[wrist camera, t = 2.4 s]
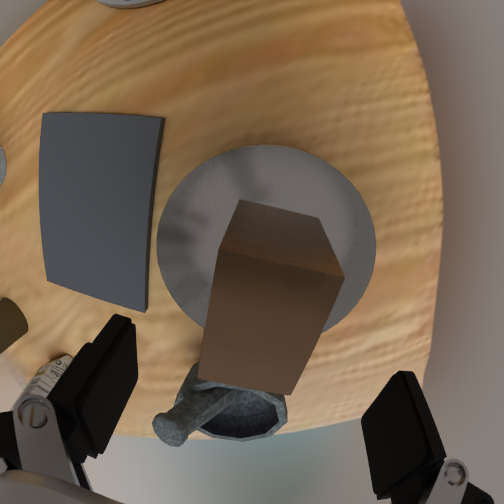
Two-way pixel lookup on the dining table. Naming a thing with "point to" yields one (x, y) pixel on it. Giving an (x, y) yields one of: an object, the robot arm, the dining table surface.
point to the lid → (264, 260)
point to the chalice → (2, 165)
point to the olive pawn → (10, 323)
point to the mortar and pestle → (220, 412)
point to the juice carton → (46, 377)
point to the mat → (99, 202)
